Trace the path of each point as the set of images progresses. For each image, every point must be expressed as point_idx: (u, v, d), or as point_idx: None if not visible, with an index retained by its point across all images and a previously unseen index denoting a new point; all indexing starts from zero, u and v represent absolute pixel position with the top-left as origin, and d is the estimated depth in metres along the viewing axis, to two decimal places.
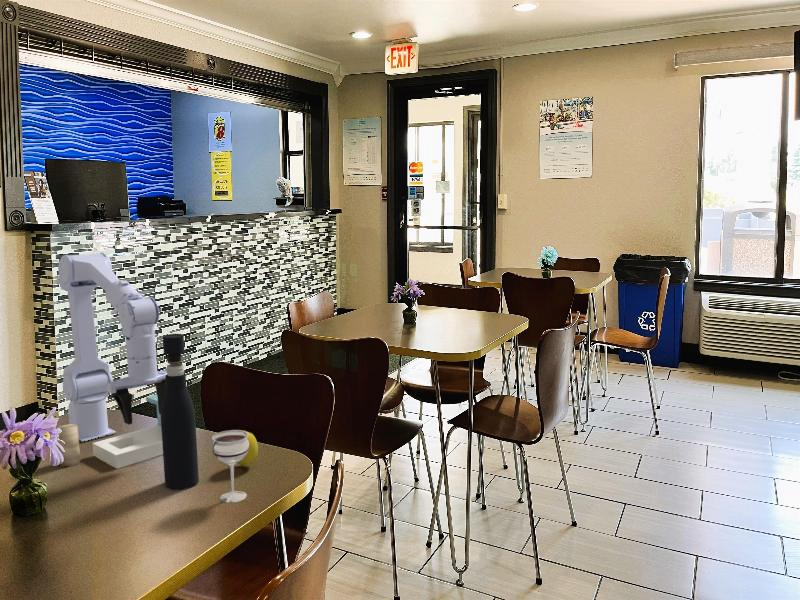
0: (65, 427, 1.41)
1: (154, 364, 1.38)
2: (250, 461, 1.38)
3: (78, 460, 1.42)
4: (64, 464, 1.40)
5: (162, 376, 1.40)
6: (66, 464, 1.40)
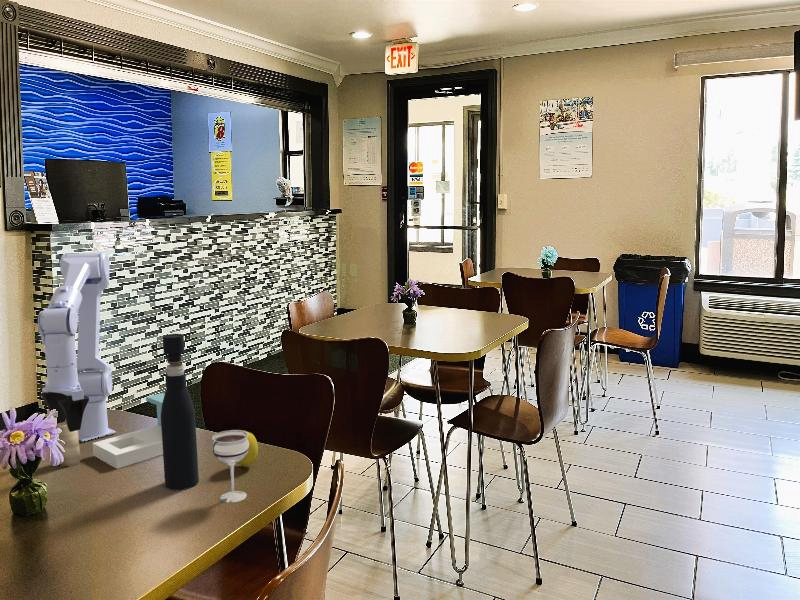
0: (65, 427, 1.41)
1: (53, 375, 1.37)
2: (250, 461, 1.38)
3: (78, 460, 1.42)
4: (64, 464, 1.40)
5: (59, 390, 1.36)
6: (66, 464, 1.40)
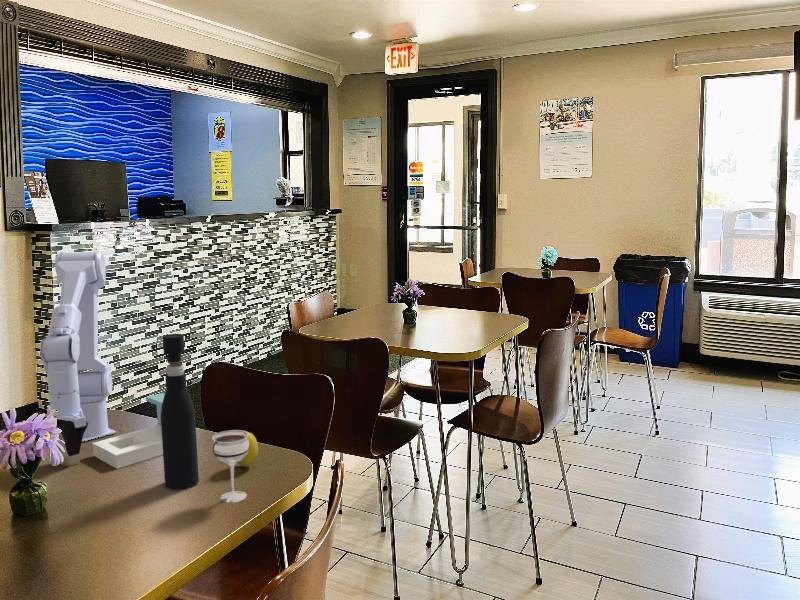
0: None
1: (55, 402, 1.38)
2: (250, 461, 1.38)
3: (78, 460, 1.42)
4: (64, 464, 1.40)
5: (62, 417, 1.37)
6: (66, 464, 1.40)
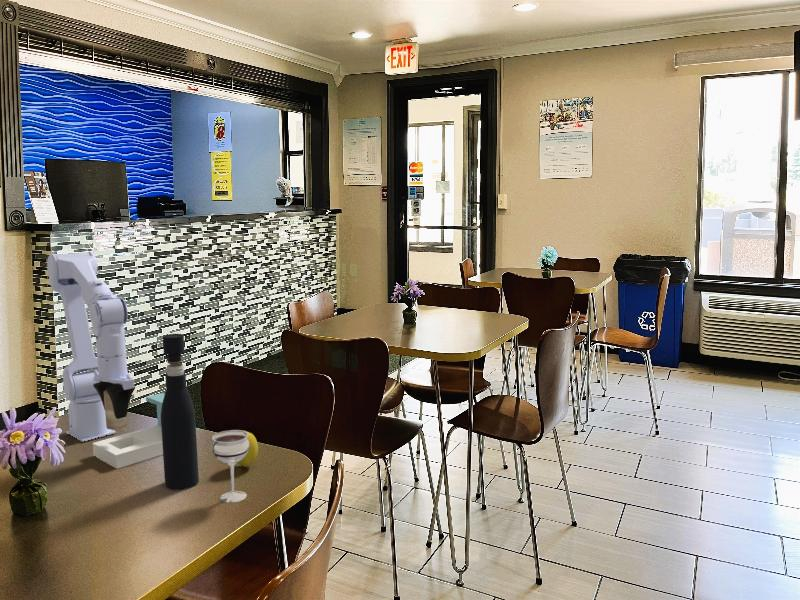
0: None
1: (104, 365, 1.40)
2: (250, 461, 1.38)
3: (124, 423, 1.44)
4: (110, 427, 1.43)
5: (110, 380, 1.39)
6: (112, 427, 1.43)
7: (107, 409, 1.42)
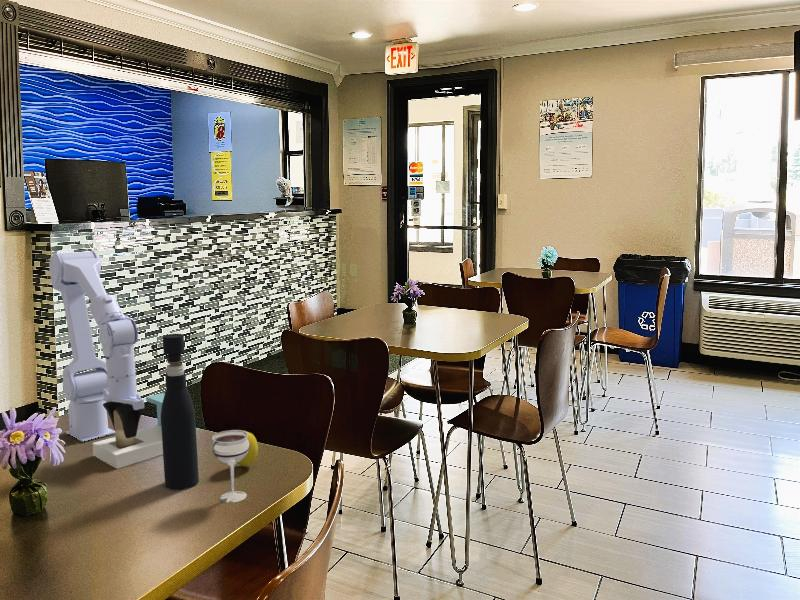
0: None
1: (114, 385, 1.41)
2: (250, 461, 1.38)
3: (134, 442, 1.46)
4: (120, 446, 1.44)
5: (120, 400, 1.41)
6: (122, 446, 1.44)
7: (117, 429, 1.43)
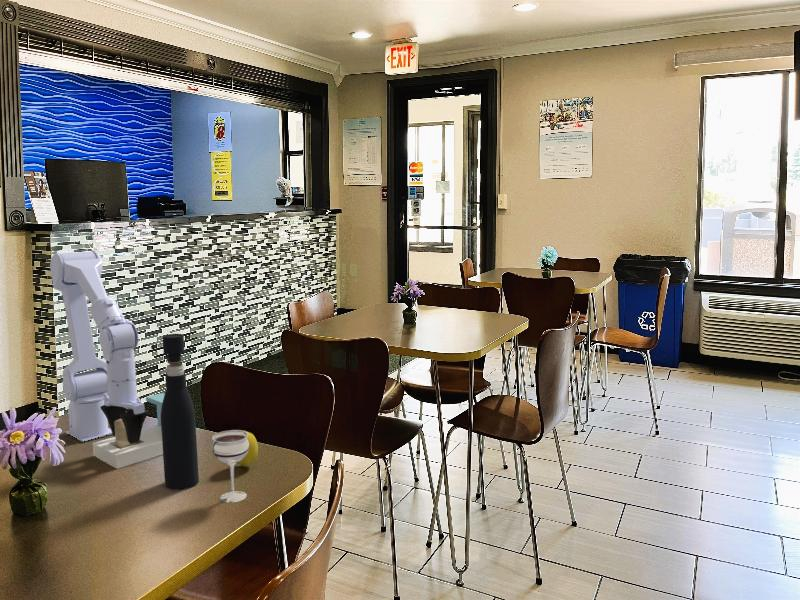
0: (122, 421, 1.45)
1: (114, 389, 1.41)
2: (250, 461, 1.38)
3: None
4: None
5: (121, 404, 1.41)
6: None
7: (118, 439, 1.44)
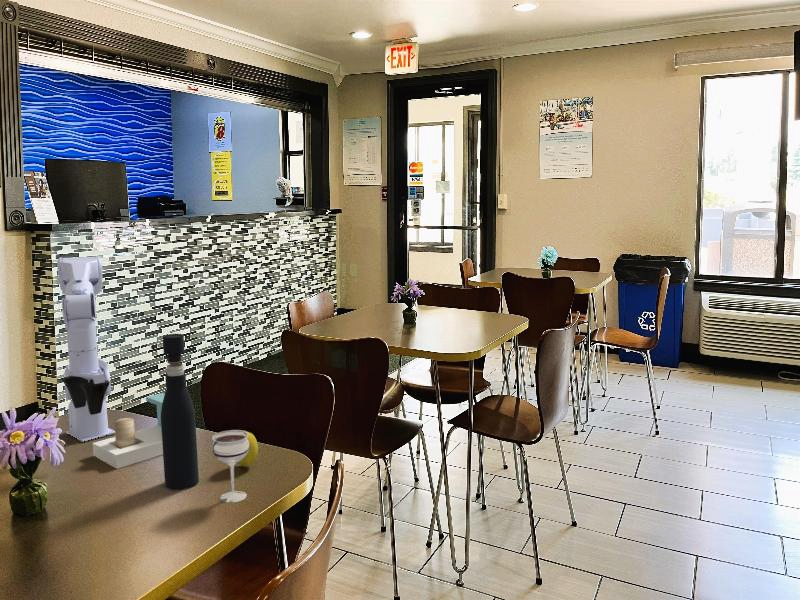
0: (122, 421, 1.45)
1: (74, 359, 1.41)
2: (250, 461, 1.38)
3: None
4: None
5: (81, 374, 1.40)
6: None
7: (118, 439, 1.44)
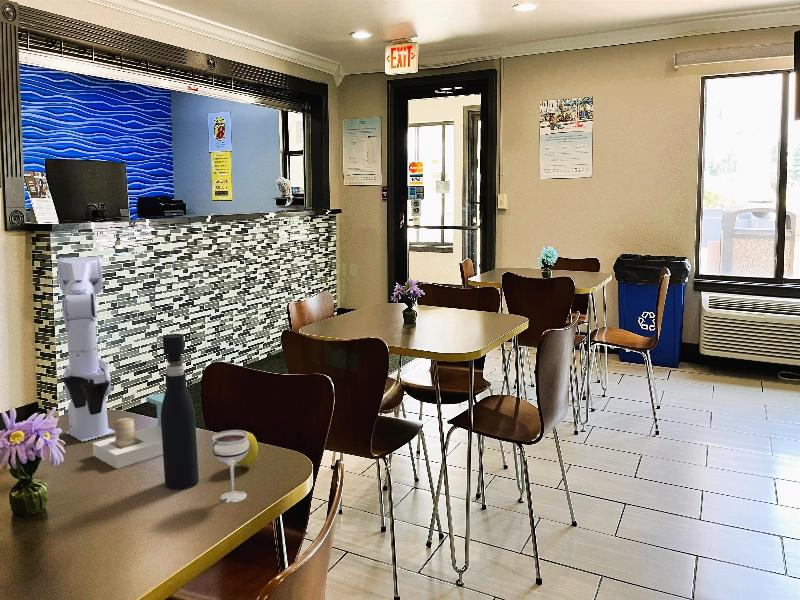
0: (122, 421, 1.45)
1: (74, 359, 1.41)
2: (250, 461, 1.38)
3: None
4: None
5: (81, 374, 1.40)
6: None
7: (118, 439, 1.44)
